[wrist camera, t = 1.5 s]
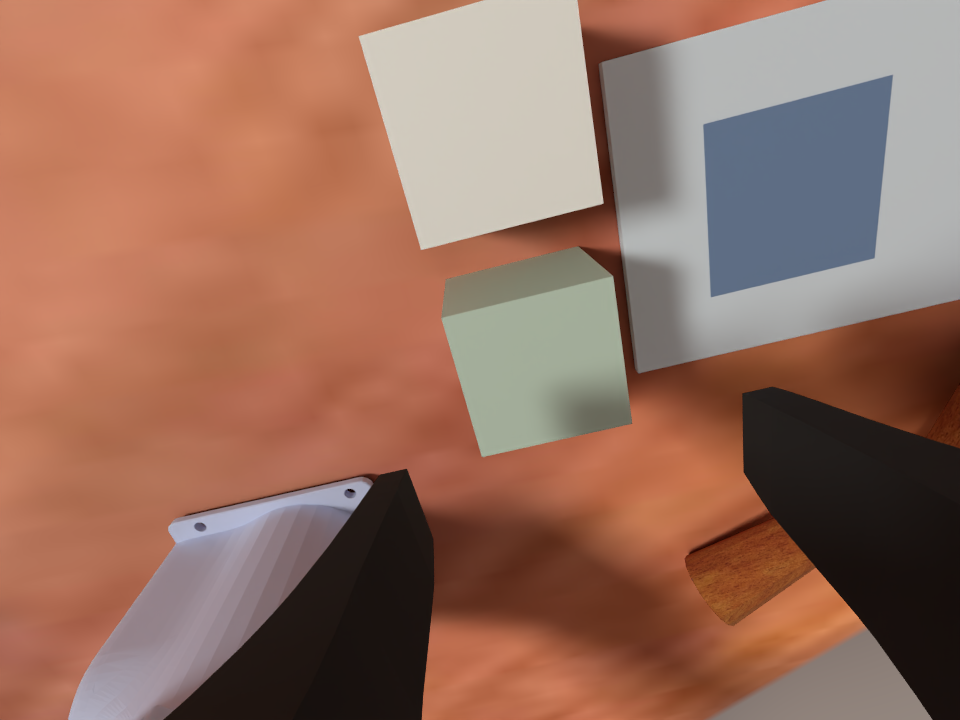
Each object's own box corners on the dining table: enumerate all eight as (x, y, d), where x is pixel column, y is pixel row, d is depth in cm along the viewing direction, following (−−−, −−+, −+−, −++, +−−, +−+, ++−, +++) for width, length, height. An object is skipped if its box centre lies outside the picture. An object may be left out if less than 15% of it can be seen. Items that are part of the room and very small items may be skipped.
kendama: (683, 600, 20) (1311, 249, 13) (655, 509, 25) (1082, 230, 18) (775, 687, 20) (1412, 402, 13) (728, 580, 26) (1163, 339, 19)
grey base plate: (635, 369, 20) (638, 373, 19) (598, 64, 15) (602, 62, 15) (1099, 261, 18) (1112, 264, 18) (1207, -104, 14) (1228, -110, 14)
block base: (477, 392, 20) (482, 456, 16) (445, 278, 18) (441, 317, 14) (596, 365, 20) (631, 423, 15) (577, 245, 18) (613, 276, 13)
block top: (430, 224, 17) (420, 249, 13) (386, 66, 15) (358, 36, 11) (568, 189, 17) (603, 203, 13) (542, 22, 15) (574, -26, 11)
